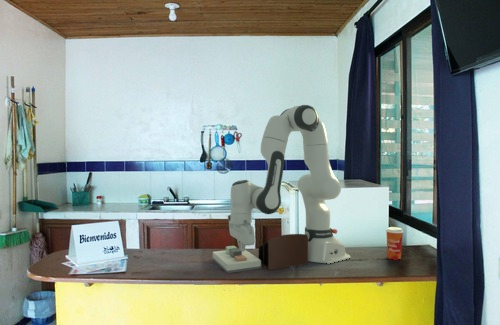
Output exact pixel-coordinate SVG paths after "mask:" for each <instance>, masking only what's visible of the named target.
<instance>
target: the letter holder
mask: <svg viewBox="0 0 500 325" xmlns="http://www.w3.org/2000/svg"><path fill="white" fill-rule="evenodd" d="M257 258H258V259H260V260H261V267H263V268H265V269H266V270H268V271H271V270H279V269H284V268H290V267H291V266H292V267H297V266H304V265H308V264H309V261H308V236H307V235H306V234H305V233H303V234H302V233H292V234H291V233H290V234H282V235H277V236H274V237H270V238H269V239H268V240H267V241H266V242H264V243H262V244H261V245H260V246H259V247H258V256H257Z"/></svg>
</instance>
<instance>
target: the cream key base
mask: <svg viewBox="0 0 500 325" xmlns="http://www.w3.org/2000/svg"><path fill="white" fill-rule="evenodd" d="M242 255H244V256H245V257H247V260H246V261H238V262H237V261H236V260H235V259H234V258H232V257H231V256H230V254H229V255H228V254H227V253H226V249H225V250H219V251H217V250H216V251H212V260H213V262H215V263H216V264H217V265H218V266H219V267H220V268H221V269H223V270H224V272H226V273H227V274H231V273H239V272H246V271H251V270H252V271H253V270H261V269H262V265H261V260H260V259H258V256H255V255H254V254H252V253H251V252H249V251H248V250H246V249H245V251H244V252H242Z"/></svg>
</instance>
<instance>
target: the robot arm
mask: <svg viewBox="0 0 500 325" xmlns="http://www.w3.org/2000/svg"><path fill="white" fill-rule="evenodd" d="M292 132H300V133H301V136H302V145H303V146H302V147H303V160H304V164H305V165H306V166H307V168H308V170H309V173H307V174H304V175H302V176H301V177H300V178H298V180H297V189H298V191H299V192H300V194H301V197H302V200H303V204H304V209H305V227H304V234H306V235H307V236H308V262H312V263H322V264H326V263H327V264H326V265H328V264H329V265H330V263H331V264H334V262H335V263H338V261H339V262H343V261H345V260H346V259H347V260H350V259H351V255H350V254H348V253H346V249H345V244H344V243H343V242H341V241H340V240H339V239H337V238H336V237H335V236H334V234H335V235H336V234H337V233H338V230H337V229H336V228H331V211H330V208H328V206H327V203H326V200H327V201H328V200H335V199H337V198H338V197H339V195H340V193H341V190H342V186H341V182H340V181H339V180H338V178H337V177H336V176H335V174H334V172H333V169H332V166H331V163H330V157H329V155H330V154H329V148H328V147H329V146H328V144H329V143H328V136H327V130H326V127H325V124H324V123H323V121H320V119H319V116H318V112H317V111H316V109H315V108H314V107H313V106H312V105H309V104H302V105H296V106H295V105H294V106H293V107H290V108H287V109H285V110H284V111H282V112H281V113H280V115H279V114H278V115H272V116H271V117H270V118H269V119H268V121H267V124H266V126H265V128H264V132H263V135H262V138H261V143H260V153H261V156H262V157H263V158H264V160H265V161H266V163H267V172H266V179H265V184H264V186H259V185H257V184H255V183H253V182H251V181H250V180H248V179H240V180H238V181H235V182H233V183H232V185H231V187H230V204H231V209H230V214H228V215H227V220H228V228H229V229H228V230H229V234H230V236H231V237H233V238H234V239H236V240H237V245H238V249H239V250H240V251H242V252H244V251H245V250H246V246H247V247H249V246H254V245H255V243H256V242H255V241H256V238H255V237H256V236H255V229H254V226H253V225H252V223H253V222H252V221H253V220H252V217H253V216H252V215H253V214H252V211H253V210H254V209H256V210H257V211H260V212H262V213H263V214H265V215H272V214H275V213H277V211H278V210H279V209H280V207H281V204H282V197H281V186H282V179H283V173H284V166H285V154H286V149H287V145H288V140H289V136H290V134H291V133H292ZM349 258H350V259H349ZM342 260H343V261H342Z"/></svg>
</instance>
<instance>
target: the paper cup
mask: <svg viewBox="0 0 500 325" xmlns="http://www.w3.org/2000/svg"><path fill="white" fill-rule="evenodd" d="M385 233H386V251H387V252H386V253H387V259H388V260H391V259H393V260H392V261H399V260H398V259H400V260H401V258H402V248H403V236H404V235H403V233H405V232H404V230H403V228H401V227H396V226H390V227H389V226H388V227H387V228H386V230H385Z"/></svg>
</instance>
